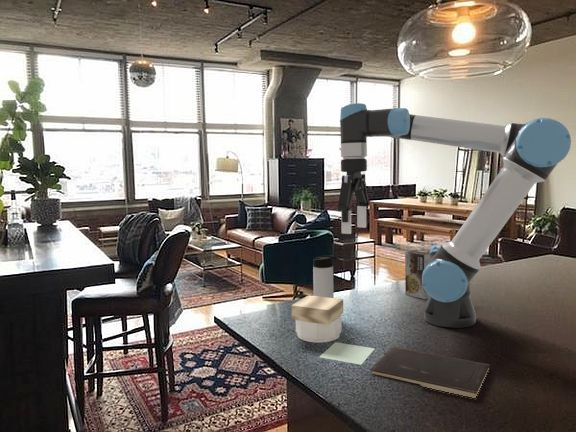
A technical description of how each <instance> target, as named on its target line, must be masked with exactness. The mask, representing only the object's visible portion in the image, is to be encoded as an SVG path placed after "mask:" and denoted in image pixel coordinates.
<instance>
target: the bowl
mask: <svg viewBox="0 0 576 432" xmlns="http://www.w3.org/2000/svg"><path fill="white" fill-rule="evenodd" d="M295 332H296V333H297V334H296V335H297V338H298V339H300V340H301V341H303V342H304V341H305V342H307V343H308V342H309V343H316V344H317V343H318V344H321V343H328V342H333V341H335V340H337V339H339V338H340V336H341V333H342V314H341V315H340V316H339V317H338V318H336V319H335V320H334V321H333V322H331V323H330V324H329V325H327V324H320V323H313V322H306V321H299V320H295Z"/></svg>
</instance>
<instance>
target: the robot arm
mask: <svg viewBox="0 0 576 432" xmlns="http://www.w3.org/2000/svg"><path fill="white" fill-rule="evenodd" d="M339 116H340V117H339V125H340V127H339V128H340V147H339V151H340V157H341V158H342V159H341V160H340V172H343V173H346V175H342V176H341V185H340V192H339V198H338V203H337V204H338V205H337V211H339V212H340V217H341V219H340V220H341V223H340V225H341V231H340V232H341V234H343V235H344V234H345V235H351V234H352V210H351V207H352V202H353V199H354V195H355V199H356V202H357V205H358V206H356V214H357V215H356V217H357V219H356V225H357V226H356V227H357V228H364V229H365V228H367V207H370V200H369V195H368V189H367V183H366V174H365V173H363V172H366V171H368V164H367V163H368V160H367V158H366V157H367V156H368V146H367V145H368V143H367V141H368V140H367V137H368V138H369V137H370V138H372V137H374V138H375V137H389V138H393V139H398V140H399V139H401V140H406V141H407V140H409V141H417V142H423V143H429V144H436V145H444V146H450V147H458V148H462V149H463V148H465V149H471V150H478V151H485V152H491V153H499V154H500V155H501V156H502V158H501V159H502V163H503V166H502V168H501V170H500V171H499V172H498V173H497V175H496V177H495V178H494V179H493V181H492V182H491V183H490V185H489V186H488V188H487V189H486V190H485V192H484V194H483V195H482V197H481V198H480V200H479V201H478V202H477V204H476V205H475V206H474V208H473V210H472V211H471V213H470V214H469V215H468V216H467V218H466V219H465V221H464V223H463V224H462V225H461V226H460V228H459V230H458V231H457V232H456V234H455V235H454V237H453V238H452V239H451V241H449V242H443V243H442V244H441V245H437V244H435V245H432V246H431V247H430V251H429V252H430V262H429V264H428V265H427V266H426V267H425V269H424V270H423V274H422V284H423V287H424V289H425V291H426V292H427V294H428V295H429V298H427V301H426V304H425V307H424V310H423V319H424V321H425V322H426V323H429V324H431V325H434V326H437V327H443V328H452V329H455V328H456V329H460V328H469V327H472V326H474V325H475V324H476V322H477V314H476V311H475V307H474V304H473V302H472V298H471V283H472V280H473V279H474V278H475V276H476V275H477V273H478V272H479V271H480V269H481V268H482V266H481V262H480V259H481V258H482V256H484V254H485V253H486V251H487V250H488V248H489V247H490V245H491V244H492V243H493V241H494V240H495V239H496V238H497V236H498V235H499V234H500V232H501V230H502V229H503V228H504V226H505V225H506V224H507V223H508V222H509V219H510V218H511V217H512V215H514V212H515V211H516V210H517V208H518V207H520V205H521V204H522V202H523V201H524V199H525V198H526V197H527V195H528V194H529V192H530V190H531V189H532V188H533V186H535V184H537V183H543V182H545V181H546V180H547V178H548V177H549V176H550V175H551V173H552V171H553V170H555V168H556V166H557V165H558V164H559V163H561V162H562V161H563V160H564V159H565V158H566V157H567V156H568V154H569V152H570V149H571V145H572V139H571V133H570V132H569V130H568V128H567V127H566V125H564V124H563V123H561V122H560V121H558V120H556V119H553V118H550V117H539V118H535V119H533V120H530V121H529V122H526V123H517V122H516V123H514V122H510V123H508V124H506V125H502V124H491V123H483V122H475V121H467V120H459V119H452V118H442V117H433V116H426V115H416V114H411V113H410V111H409V109H408V108H406V107H393V108H383V109H368V108H367V105H366V104H365V103H360V102H359V103H357V102H356V103H354V102H353V103H346V104H344V105H341V108H340V115H339Z"/></svg>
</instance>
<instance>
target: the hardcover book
mask: <svg viewBox="0 0 576 432" xmlns="http://www.w3.org/2000/svg"><path fill="white" fill-rule="evenodd" d="M369 370H370V371H371V374H372V375H376V376H382V377H386V378H391V379H393V380H394V379H395V380H399V381H403V382H404V381H405V382H408V383H412V384H418V385H419V387H420V386H423V387H427V388H432V389H436V390H441V391H445V392H449V393H448V394H450V393H454V394H459V395H463V396H468V397H472V398H476V396H477V397H478V395H479V393H480V391H481V389H480V388H482V387H481V386H483V385H482V383H483V384H484V382H485V380H486V378H485V377H487V376H488V374H487V372H488V373H489V371H488V370H491V365H490V364H488V363H484V362H478V361H472V360H468V359H464V358H463V359H462V358H455V357H451V356H446V355H440V354H436V353H430V352H425V351H419V350H415V349H414V350H413V349H409V348H403V347H397V346H392V347H391V348H390V349H389V350H388V351H387V352H386V353H385V354H384V355H383V356H382V358H380V359H379V360H378V361H377V362H376V363H375V364H374V365H373V366H372V367H371V368H370V369H369ZM486 375H487V376H486ZM484 379H485V380H484ZM483 381H484V382H483ZM423 387H422V388H423ZM427 388H426V389H427ZM432 389H431V390H432ZM436 390H435V391H436ZM479 390H480V391H479ZM441 391H440V392H441ZM445 392H444V393H445ZM478 392H479V393H478ZM454 394H453V395H454ZM477 394H478V395H477ZM463 396H462V397H463ZM472 398H471V399H472ZM476 399H477V398H476Z"/></svg>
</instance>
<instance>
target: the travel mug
mask: <svg viewBox="0 0 576 432" xmlns="http://www.w3.org/2000/svg"><path fill="white" fill-rule="evenodd" d="M333 259H335V255H334V254H332V255H319V256H316V257H314V258H313V260H312V263H313V264H312V268H313V269H312V272H313V273H312V274H313V275H312V277H313V278H312V280H313V281H312V283H313V296H319V297H328V298H334V297H335V295H334V261H333Z"/></svg>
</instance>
